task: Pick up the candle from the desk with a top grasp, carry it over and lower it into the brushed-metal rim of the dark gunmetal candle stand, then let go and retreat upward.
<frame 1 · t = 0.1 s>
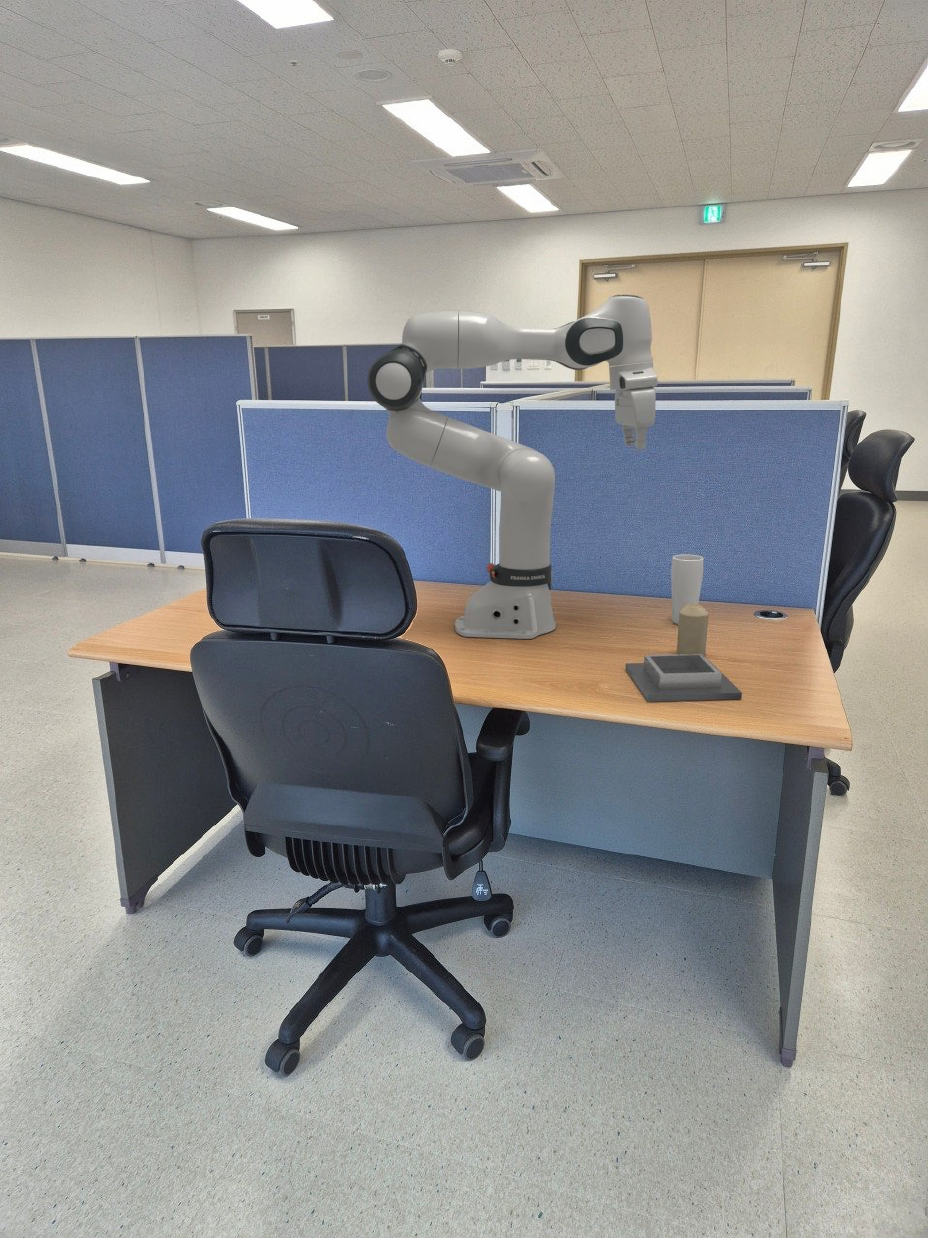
hand: (635, 447, 164), 39 cm above the table, tool pointing down, fingers open, 8 cm apart
candle stand: (680, 683, 140), on the table
drinking glass: (683, 623, 176), on the table
candle: (690, 654, 156), on the table
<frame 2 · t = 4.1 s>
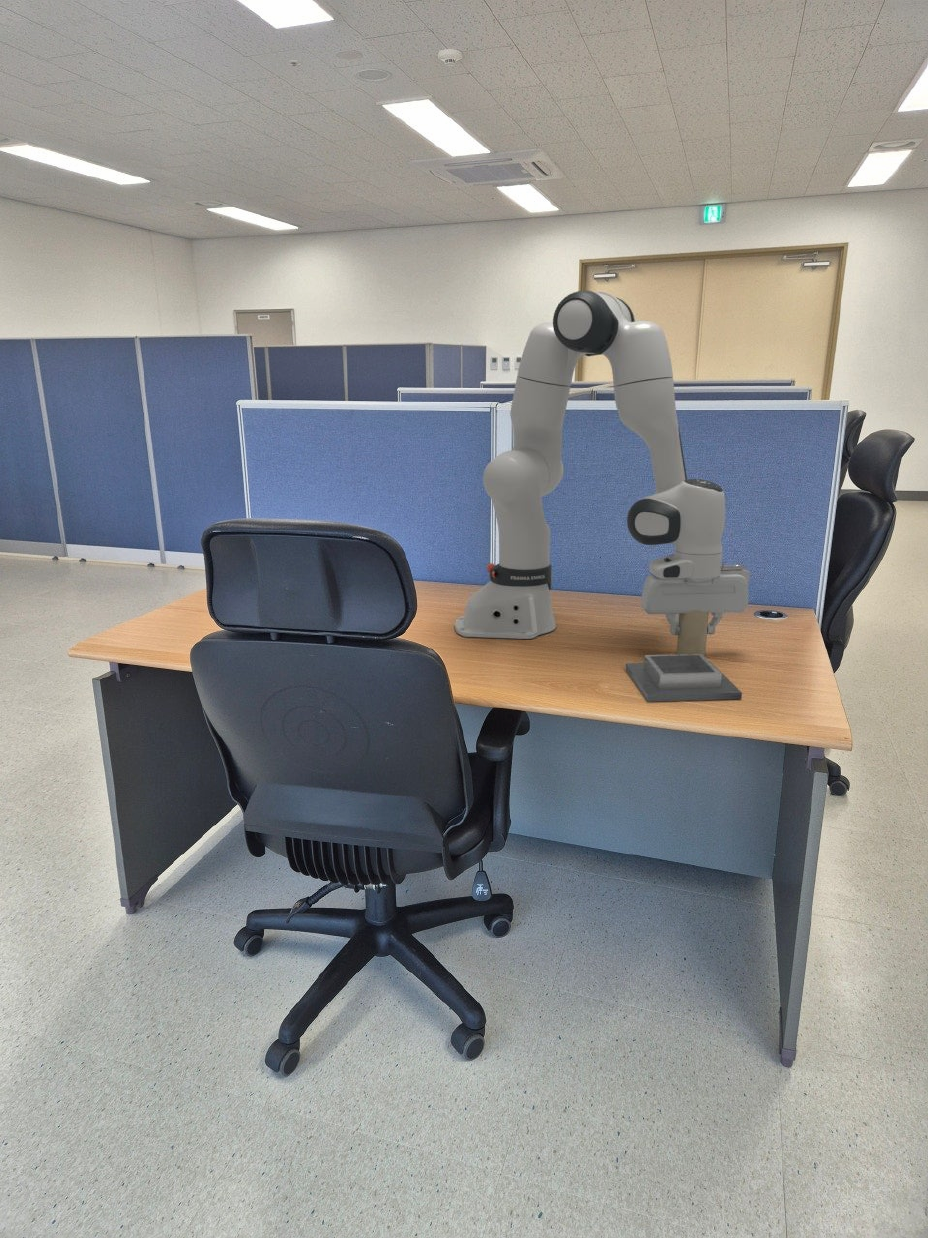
hand: (692, 633, 154), 4 cm above the table, tool pointing down, fingers closed on candle, 5 cm apart
candle: (690, 654, 156), on the table, touching gripper
everything else where it was.
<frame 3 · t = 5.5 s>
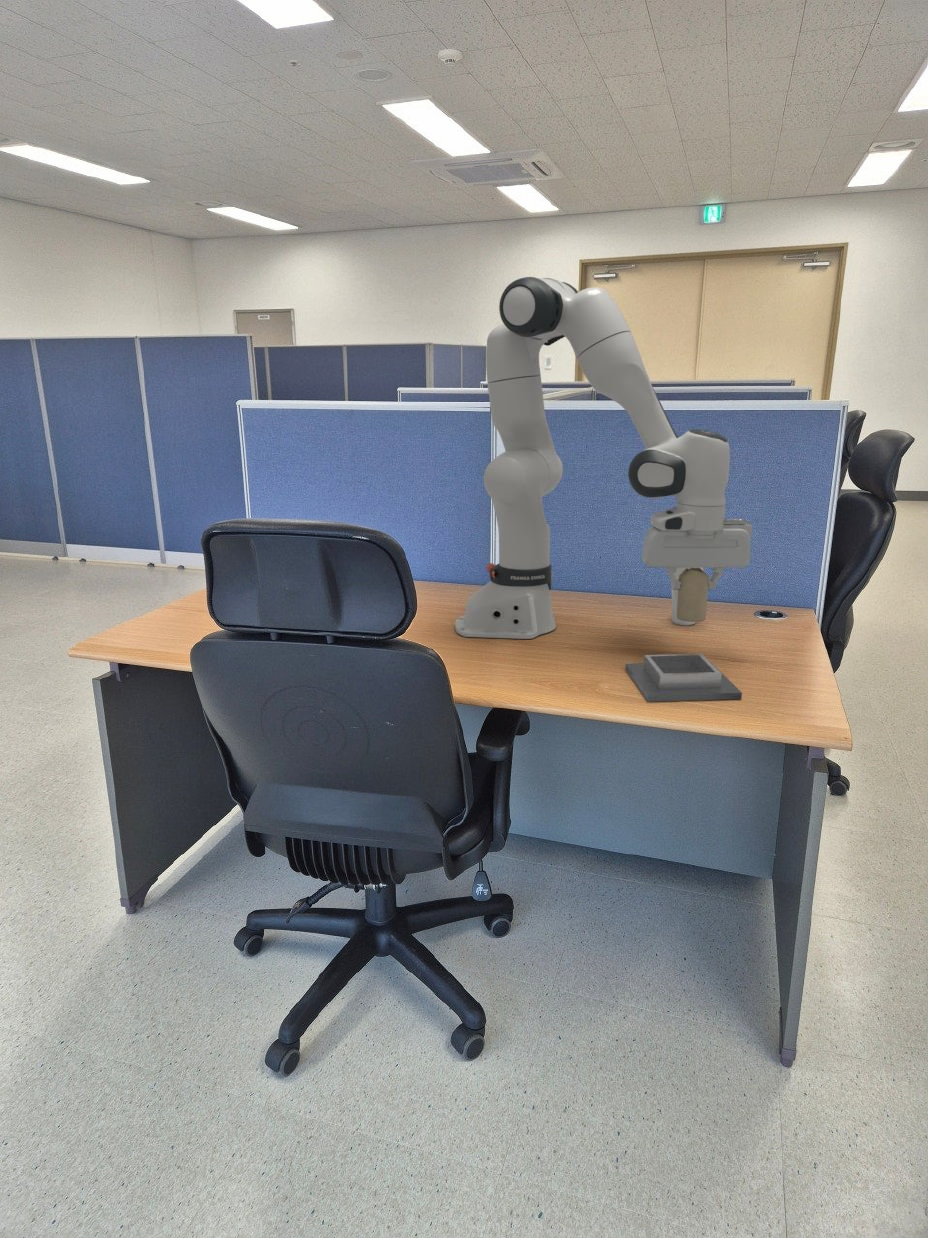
hand: (692, 589, 152), 13 cm above the table, tool pointing down, fingers closed on candle, 5 cm apart
candle: (690, 619, 154), point 7 cm above the table, touching gripper
everything else where it was.
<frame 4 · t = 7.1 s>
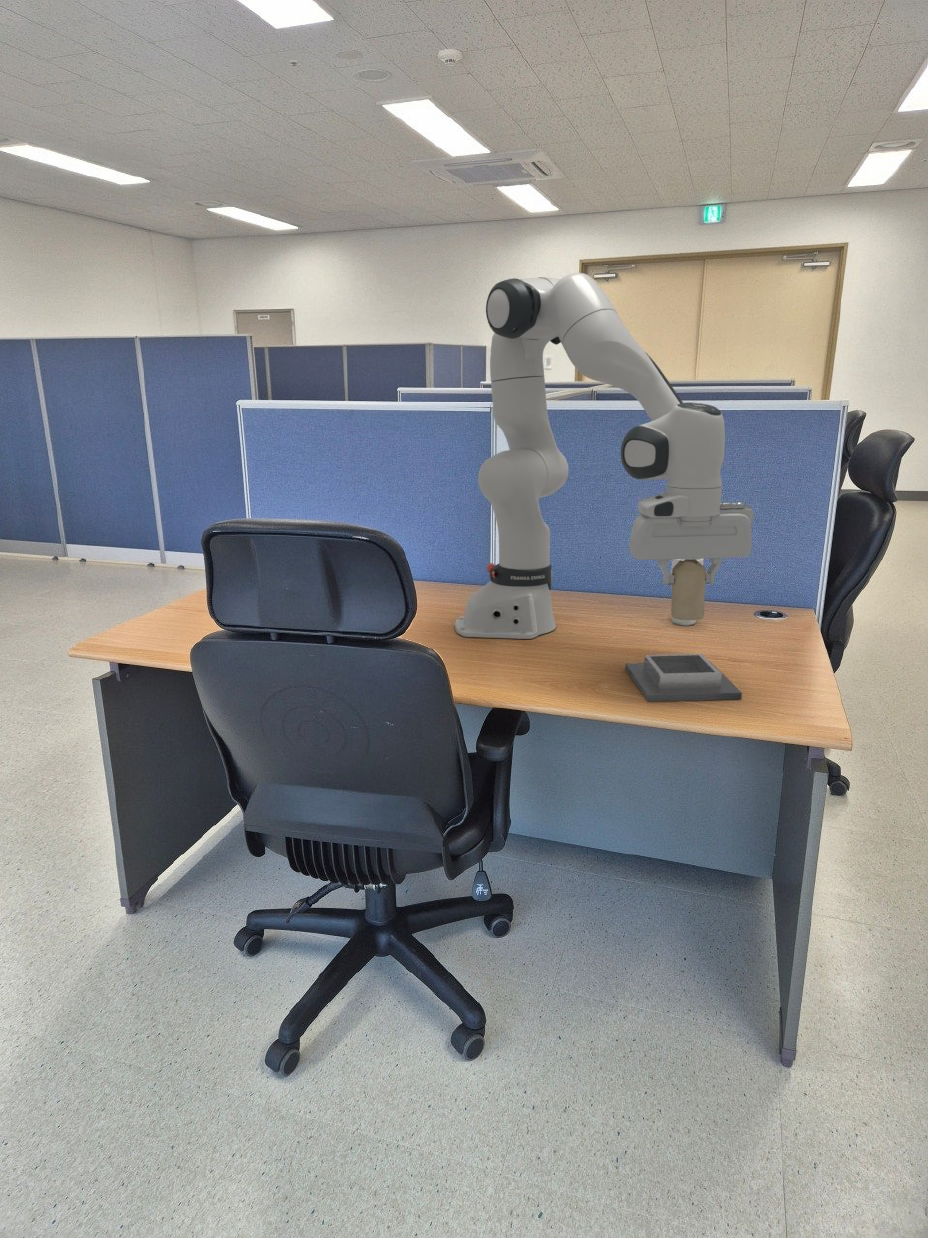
hand: (688, 583, 135), 18 cm above the table, tool pointing down, fingers closed on candle, 5 cm apart
candle: (687, 617, 137), point 12 cm above the table, touching gripper
everything else where it was.
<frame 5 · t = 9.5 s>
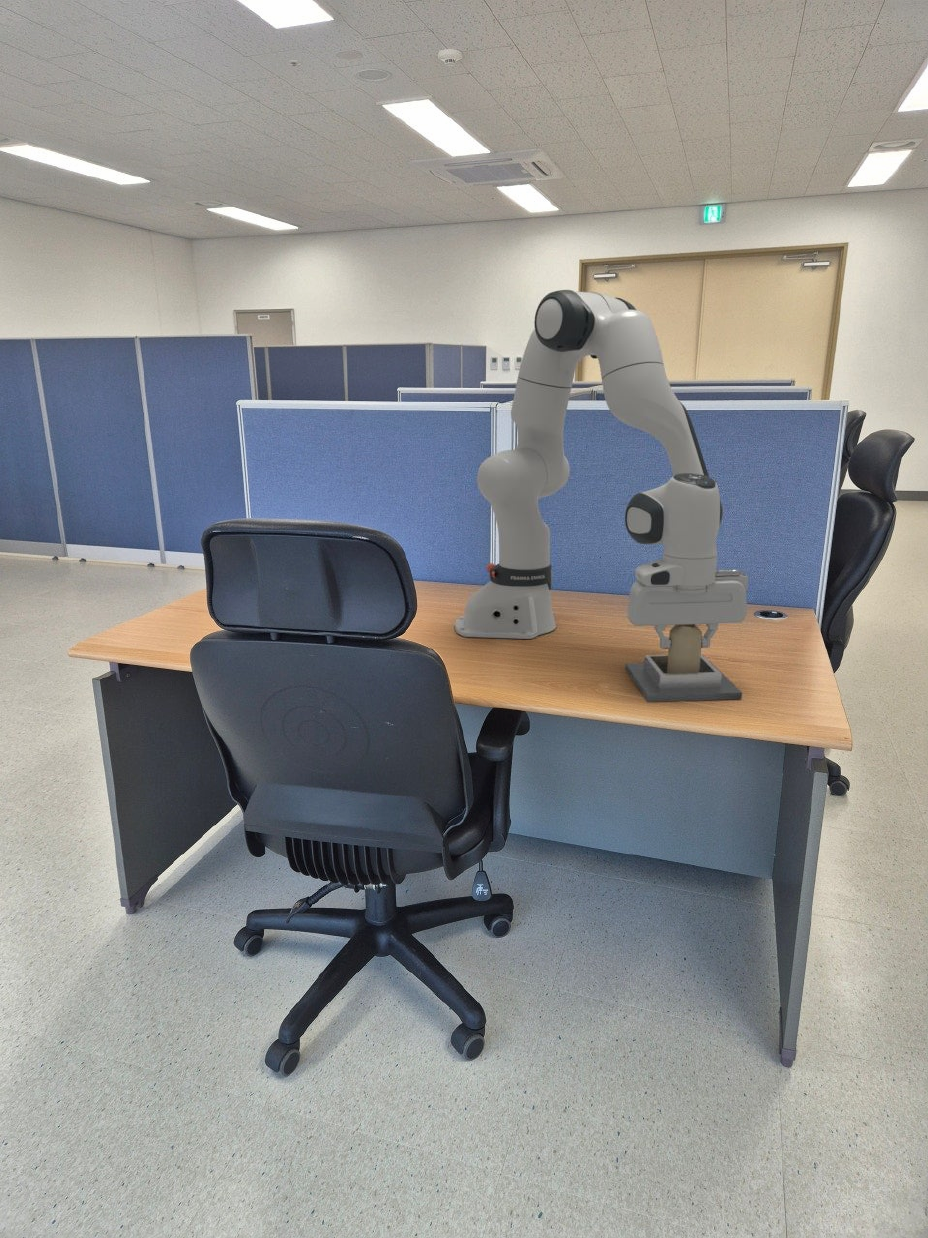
hand: (684, 647, 138), 7 cm above the table, tool pointing down, fingers closed on candle, 5 cm apart
candle: (682, 678, 139), point 1 cm above the table, touching candle stand, gripper
everything else where it was.
when the fingers open (7 cm above the table, at t = 10.2 s): candle stays where it is, resting on candle stand.
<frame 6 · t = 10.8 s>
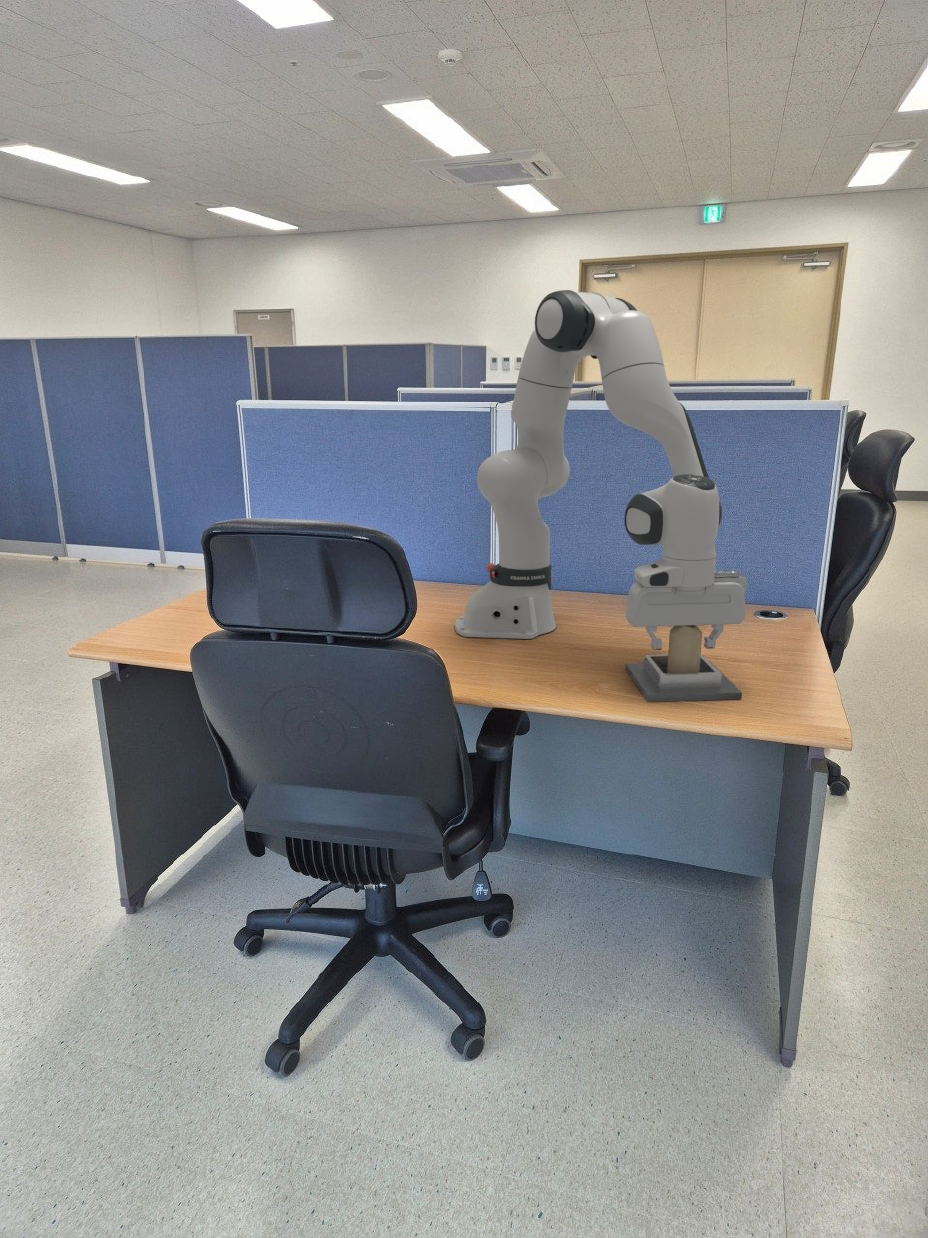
hand: (682, 648, 138), 7 cm above the table, tool pointing down, fingers open, 8 cm apart
candle: (682, 678, 139), point 1 cm above the table, touching candle stand
everything else where it was.
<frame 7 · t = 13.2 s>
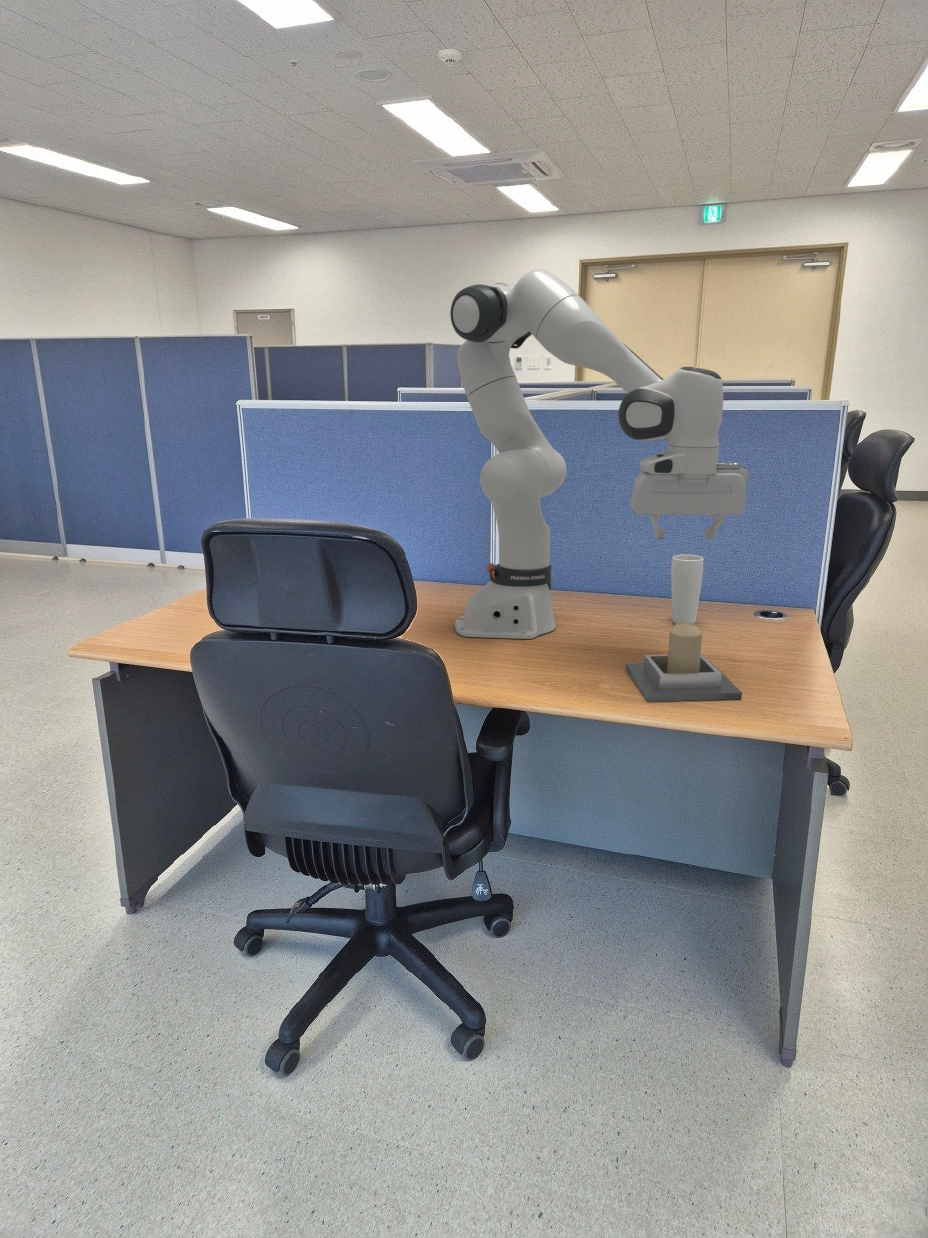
hand: (684, 538, 144), 24 cm above the table, tool pointing down, fingers open, 8 cm apart
nothing on the table moved.
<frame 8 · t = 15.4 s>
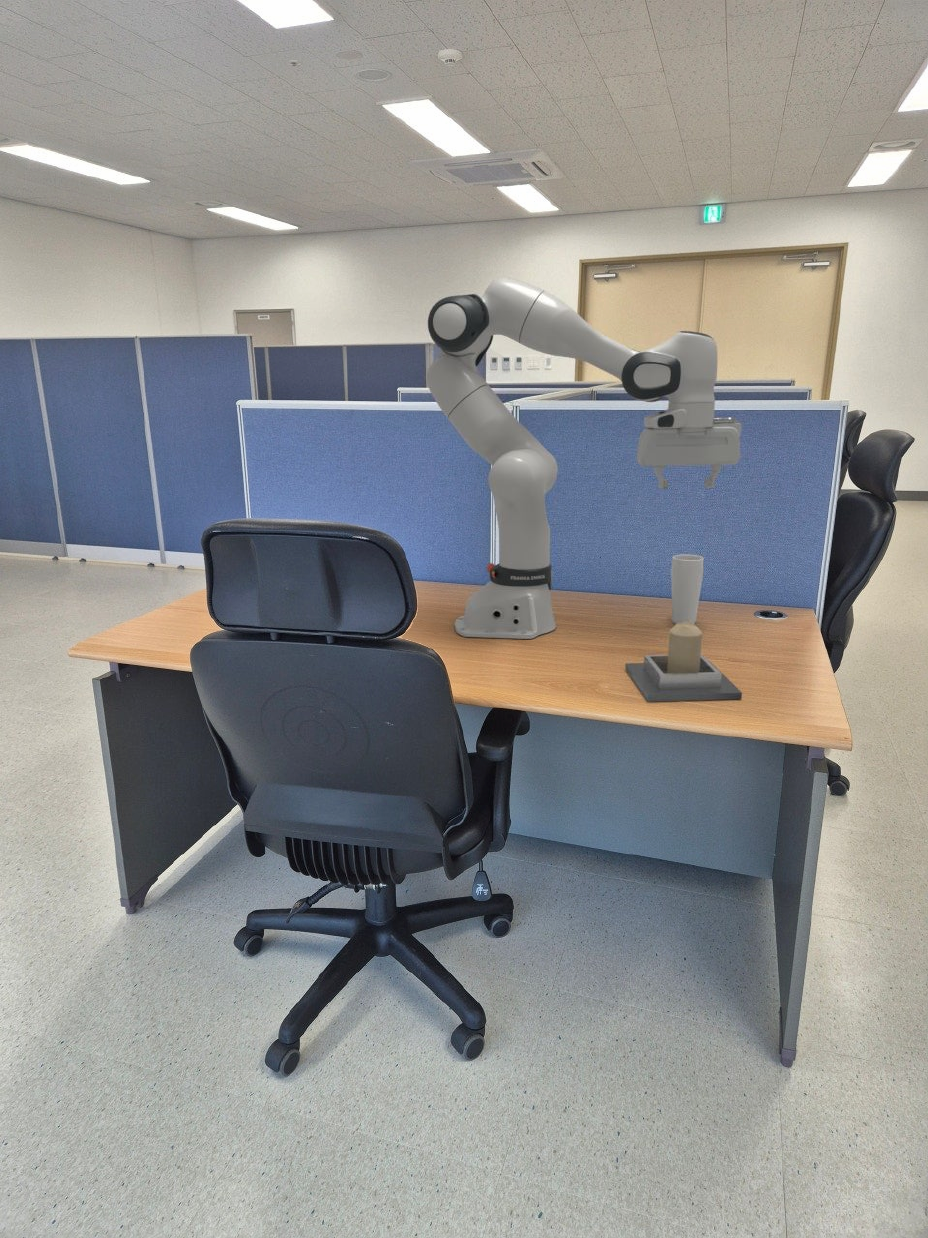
hand: (686, 488, 159), 31 cm above the table, tool pointing down, fingers open, 8 cm apart
nothing on the table moved.
at the end: candle 0.3 cm off-centre on the candle stand, point 1.0 cm above the candle stand's base; candle tilted 0°; the gripper is holding nothing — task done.
